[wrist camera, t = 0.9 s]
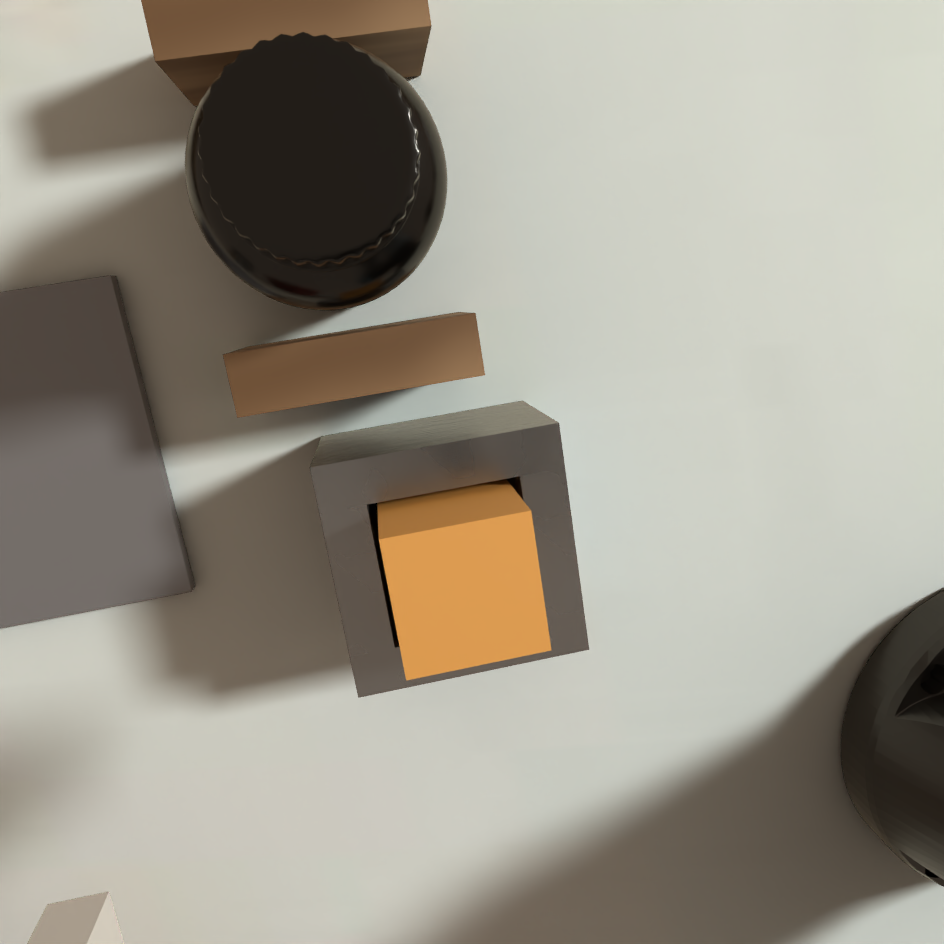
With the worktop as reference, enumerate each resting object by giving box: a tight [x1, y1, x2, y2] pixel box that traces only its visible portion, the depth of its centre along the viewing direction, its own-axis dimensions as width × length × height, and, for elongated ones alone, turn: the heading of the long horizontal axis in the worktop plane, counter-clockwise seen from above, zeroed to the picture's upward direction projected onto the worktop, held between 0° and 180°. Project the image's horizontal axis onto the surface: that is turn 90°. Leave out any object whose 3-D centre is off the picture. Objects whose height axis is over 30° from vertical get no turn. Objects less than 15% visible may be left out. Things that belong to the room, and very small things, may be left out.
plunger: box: [377, 479, 551, 680], centre depth 25 cm, size 4×4×6 cm
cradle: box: [141, 0, 485, 418], centre depth 26 cm, size 12×8×5 cm, turn 9°
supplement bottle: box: [185, 32, 447, 310], centre depth 22 cm, size 7×7×12 cm
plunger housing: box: [310, 401, 589, 698], centre depth 28 cm, size 8×8×6 cm
